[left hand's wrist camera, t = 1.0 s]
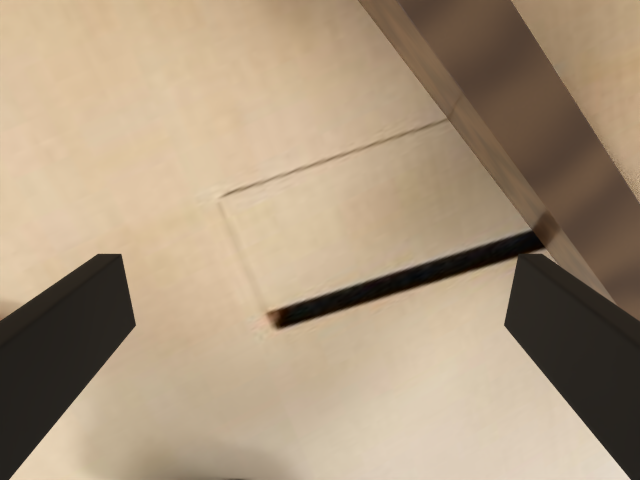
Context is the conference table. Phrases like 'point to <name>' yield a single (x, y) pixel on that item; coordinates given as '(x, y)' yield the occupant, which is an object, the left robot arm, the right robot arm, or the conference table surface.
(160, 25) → the conference table surface
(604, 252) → the beam
